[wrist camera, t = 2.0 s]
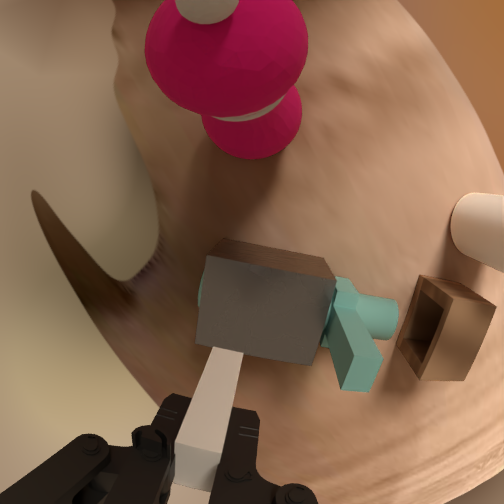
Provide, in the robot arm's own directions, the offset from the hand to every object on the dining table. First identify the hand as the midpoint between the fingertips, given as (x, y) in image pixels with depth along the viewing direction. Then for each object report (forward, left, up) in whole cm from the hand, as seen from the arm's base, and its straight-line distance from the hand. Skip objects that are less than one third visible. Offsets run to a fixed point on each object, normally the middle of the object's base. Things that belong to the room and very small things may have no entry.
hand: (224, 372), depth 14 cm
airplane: (0, +4, -12) cm, 13 cm away
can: (-10, +21, -14) cm, 27 cm away
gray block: (0, +1, -14) cm, 14 cm away
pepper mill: (-14, -2, -14) cm, 20 cm away
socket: (0, +19, -14) cm, 23 cm away
